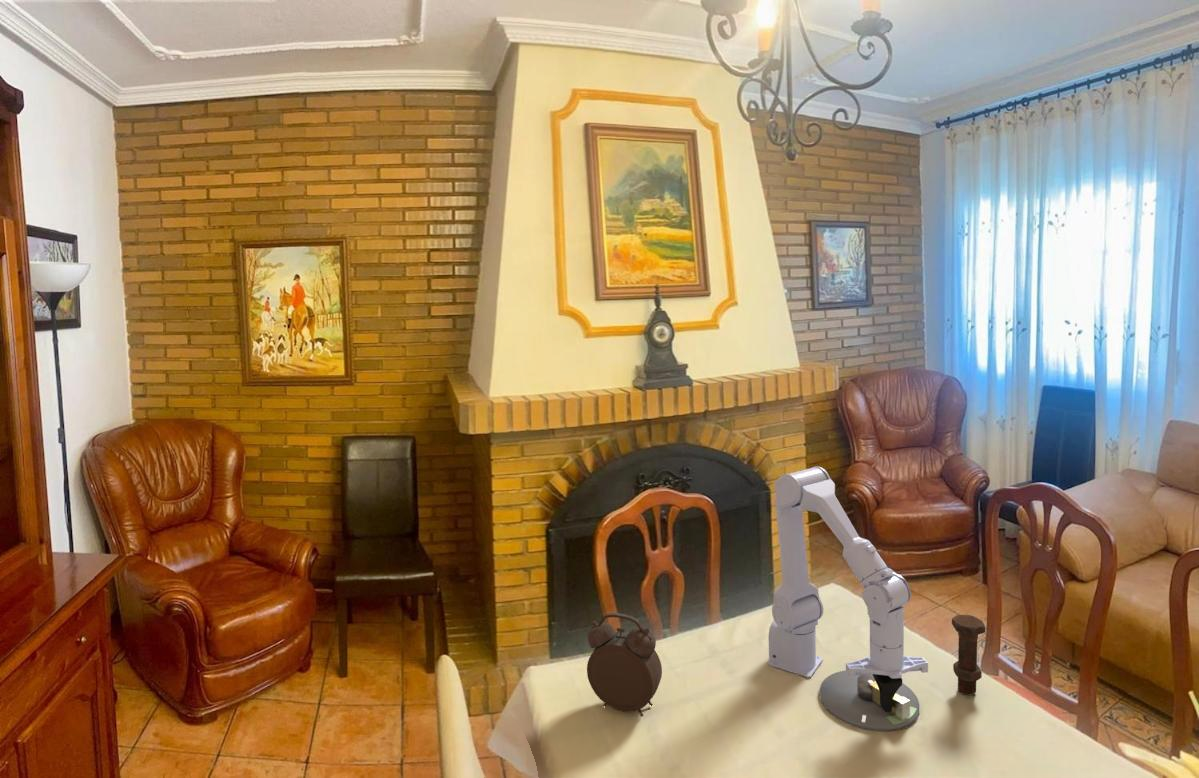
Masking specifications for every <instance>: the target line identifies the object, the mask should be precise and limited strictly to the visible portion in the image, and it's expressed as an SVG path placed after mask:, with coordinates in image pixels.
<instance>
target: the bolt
mask: <svg viewBox="0 0 1199 778" xmlns="http://www.w3.org/2000/svg"><path fill="white" fill-rule="evenodd" d="M951 625H952V626H953V628H954V630H955V632H957V635H958V643H957V644H958V650H957V652H958V654H957V661H955V662H954V663H953V664H952V667H953V668H952V669H953V672H954V675H955V676H956V677H957V690H958V691H959V693H961V694H962V693H963V694H962V695H965V694H972V695H974V694H976V693H977V681H979V680H980V679H981V678H982V677H983V676H982V675H983V674H982V670H981V667H980V666H979V665H978V639H979V635H981V634H985V633H986V625H985V623H984V622H983V620H982V619H980V618H978V617H977V616H973V615H970V614H956V615H954V616H953V617H952V618H951Z"/></svg>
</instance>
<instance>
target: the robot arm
mask: <svg viewBox="0 0 1199 778" xmlns="http://www.w3.org/2000/svg"><path fill="white" fill-rule="evenodd" d="M773 483H774V492H775V501H774V506H775V515H776V517H775V518H776V527H777V537H778V548H779V558H780V559H779V560H780V568H781V576H782V577H781V580H782V581H781V583H780V585H779V586H778V588H777V589H776V590H775V591H774V593H773V603H772V606H771V607H772V608H771V614H772V619H773V620H772V622H771V623H770V626H769V631H768V661H767V665H768V666H771V667H774V668H776V669H777V668H778V669H780V670H783V671H787V672H790V673H793V674H796V675H798V676H802V677H806V678H808V679H809V678H811V677H812V676H813V674H814V673H815V672H816V671H817V669H818V668H819V667H820V665H821V664H822V662H823V661H824V659H823V657H820V656H817V647H816V646H817V644H816V638H817V637H816V634H817V633H816V632H817V631H816V626H818V624H819V621H818V620H820V619H821V618H822V617H823V616H824V606H823V605H824V604H823V602H822V599H821V597H820V594H819V592H820V591H819V587H817V586H816V585H814V584H813V583H812V582H810V577H809V567H808V566H809V565H808V556H807V555H808V554H807V546H806V545H807V544H806V534H805V525H804V524H805V523H804V513H803V512H804V511H808V512H813V513H817V514H819V516H820V517H821V519H822V520H823V521H824V522H825V524H826V525H827V527H828V528H829V529H830V530H831V531H832V533H833V534H834V536H836V539H837V540H839V542H840V543H841V545H842V546H843V549H842V550H843V551H842V557H843V558H844V560H845V561H846V563H847V565H848V566H849V568H850V570H851V571H852V572H853V574H854V576H855V577H856V578H857V580H858V581H859V583H860V585H861V586H862V587H863V589H864V590H863V591H861V596H862V600H863V602H864V604H865V606H866V609H867V615H868V618H869V656H867V657H864V658H861V659H858V660H854V661H850V662H845V670H846V673H847V675H848V676H849V677H850V678H855V676H857V675H870V674H872V675H873V677H874V679H875V681H876V683H877V686H878V688H879V691H880V705H881V707H882V708H883V709H884V711H885V712H892V700H893V697H894V695H895V693H896V692H897V690H898V689H899V688H900V686H901V685H902V683H903V678H902V676H903V674H906V673H910V672H921V673H924V674H925V673H929V662H928V661H927V660H926V659H925V658H924V657H923V656H921V657H917V656H916V657H914V656H907V655H904V654H905V653H904V649H905V648H904V647H905V646H904V645H905V644H904V639H905V638H904V637H905V634H904V633H905V630H904V629H905V623H904V622H905V621H904V620H905V615H904V614H905V607H904V606H905V605H907V604H908V603H909V602H910V600H911V597H912V593H911V589H910V586H909V584H908V582H907V580H906V578H904V577H903V575H901V574H898V573H896V572H895V571H894V570H893V569H891V568H889V567H888V565H887V564H886V563H885V561H884V560H883V559H882V557H881V556H880V554H879V552H878V551H877V548H876V547H875V546H874V545H873V544H872V542H871V541H870V540H869V539H866V538H863V537H860V535H859V533H857V530H856V529H855V527H854V525H853V524H852V521H851V520H850V519H849V517H848V515H847V513H846V511H845V510H844V508H843V507H842V505H841V503H840V500H838V498H837V497H836V494H835V493H836V484H835V482H834V481H833V480H832V479H831V477H830V475H829V473H828V472H827V470H826V469H825V468H823V467H821V466H812V467H810V468H806V469H803V470H799V471H794V472H790V473H784V474H781V475H780V476H779V477H778V478H777V479H776V480H775V481H774V482H773Z"/></svg>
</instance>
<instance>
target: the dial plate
mask: <svg viewBox="0 0 1199 778" xmlns="http://www.w3.org/2000/svg"><path fill="white" fill-rule="evenodd" d="M870 675H871V676H873V675H872V674H870ZM859 676H861V675H857V676H855V678H850V677H849V676H848V675H847V673H846V669H845V670H840V671H838V672H834V673H831V674H830V675H828V676H827V677H826V678H824V680H823V681H822V682H821V683H820V687H819V697H820V700H821V704H822V705H823V707H824V708H825V709H826V711H828V713H829V714H831V715H832V716H833V717H835V718H836V719H838V720H839V721H841V722H843V723H845V724H847V725H850V726H852V727H856V728H858V729H862V730H866V731H873V732H884V733H885V732H895V731H900V730H904V729H906V728H908V727H910V726H912V725H913V724H914V723H915V722H916V721H917V720H918V718H919V715H920V702H919V699H918V697H917V695H916V694H915V692H914V691H913V690H912V689H911V688H910V687H909V686H908V685H906V684H905V683H904V682H902V685H901V686H900V688H899V689H898V690H897V692H896V694H898V695H900V696H901V697H905V698H907V699H908V700H910V717H907V718H905V719H903V720H902V719H900V718H899V717H897V716H896V715H895V714H893V713H891V712H885V711H884V709H883V708H882V707H881V705H879V704H878V703H876V702H875V701H866V700H864V699H862V698H860V697H859V696H858V694H857V678H858V677H859Z"/></svg>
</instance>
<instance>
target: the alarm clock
mask: <svg viewBox="0 0 1199 778" xmlns="http://www.w3.org/2000/svg"><path fill="white" fill-rule="evenodd" d="M608 618H618V619H624V620H626V621H627V620H628V621H630V622H632V623H635V625H636V627H634V628H633V629H632V630H630V631H626V629H625V628H622V627H617V628H616V629H615V627H613V625H611V624H610V623H609V622H606V621H605V620H606V619H608ZM591 625H592V626H591V628H590V629H589V631H588V632H587V641H588V642H587V643H588V645H589V647H590V649H594V650H593V651H592V653H591V654H590V655H589V658H588V661H587V666H586V674H587V679H588V682H589V684H590V686H591V689H592V691H593V692H594V693H595V695H596V696H597V697H598V698H599V700H600V701H601V702H602V703H604V704H602V707H603V706H606V707H607V706H609V707H610V708H612V709H614V710H616V711H619V712H624V713H634V712H638V713H639V715H640V717H641V716H642V717H644V714H643V712H642V709H644V708H645V706H647V704H649V705H651V706H652V705H654V704H653V703H652V701H651V700H652V699H653V697H654V696H655V694H656V692H657V690H658V688H659V685H660V683H661V679H662V674H663V668H662V663H661V659H660V657H659V655H658V653H657V651H656V650H655V649H656V643H657V640H656V637H655V635H654V634H653V632H652V631H651V630H650V628H649V627H644V626H643V624H642V623H641V622H640V620H639V619H638V618H636V617H635V616H632V615H630V614H629V615H628V614H625V613H619V612H609V613H606V614H603V616H602V618H601V619H600V621H599V622H597V621H595V620H593V621H591ZM652 707H653V706H652Z"/></svg>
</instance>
